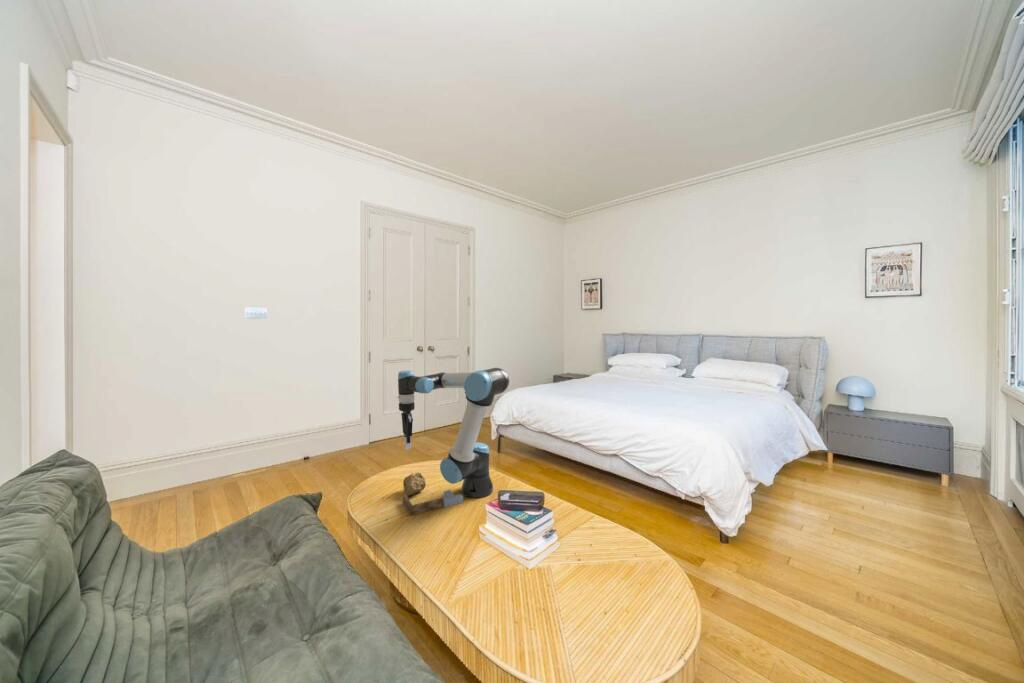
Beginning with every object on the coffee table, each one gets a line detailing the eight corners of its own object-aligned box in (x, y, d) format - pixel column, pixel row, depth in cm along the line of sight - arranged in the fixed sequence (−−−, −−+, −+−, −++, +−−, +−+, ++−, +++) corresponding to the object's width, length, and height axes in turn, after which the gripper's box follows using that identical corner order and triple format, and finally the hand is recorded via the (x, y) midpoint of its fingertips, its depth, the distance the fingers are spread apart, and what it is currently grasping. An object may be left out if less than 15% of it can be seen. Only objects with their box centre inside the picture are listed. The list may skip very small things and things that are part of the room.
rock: (402, 490, 190) (401, 470, 190) (423, 486, 195) (422, 467, 194) (406, 501, 180) (405, 480, 179) (428, 496, 184) (428, 476, 183)
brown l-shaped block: (434, 495, 185) (434, 488, 185) (443, 506, 175) (443, 499, 174) (402, 503, 178) (402, 495, 178) (410, 515, 167) (409, 507, 167)
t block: (455, 494, 186) (455, 488, 186) (463, 502, 178) (463, 496, 178) (437, 499, 182) (437, 492, 181) (444, 507, 174) (444, 501, 174)
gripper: (395, 400, 198) (396, 445, 200) (402, 405, 186) (403, 454, 188) (410, 398, 202) (411, 443, 204) (418, 404, 190) (419, 451, 192)
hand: (407, 448), depth 196 cm, fingers closed
